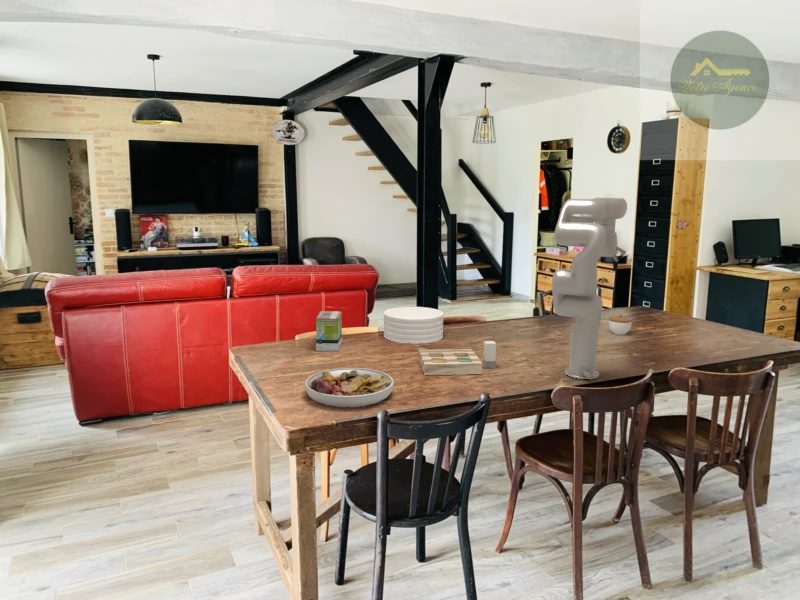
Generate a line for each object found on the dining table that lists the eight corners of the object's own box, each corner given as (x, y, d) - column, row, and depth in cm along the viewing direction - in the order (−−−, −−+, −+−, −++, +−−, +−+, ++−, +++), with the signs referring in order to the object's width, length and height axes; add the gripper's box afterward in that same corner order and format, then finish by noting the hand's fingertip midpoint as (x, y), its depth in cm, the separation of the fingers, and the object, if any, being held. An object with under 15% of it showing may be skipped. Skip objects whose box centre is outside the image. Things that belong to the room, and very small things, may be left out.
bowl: (348, 375, 226) (348, 355, 225) (411, 393, 208) (411, 371, 206) (287, 396, 203) (286, 374, 202) (350, 418, 185) (350, 394, 183)
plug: (495, 368, 235) (496, 343, 234) (485, 368, 235) (486, 343, 233) (492, 365, 239) (493, 341, 237) (483, 365, 239) (483, 341, 237)
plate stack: (453, 334, 288) (454, 311, 286) (423, 347, 265) (423, 322, 263) (404, 326, 303) (404, 304, 301) (371, 338, 280) (371, 314, 278)
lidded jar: (628, 337, 285) (630, 318, 283) (605, 334, 291) (606, 315, 289) (632, 332, 294) (634, 314, 292) (610, 329, 300) (611, 311, 298)
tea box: (339, 351, 257) (338, 317, 254) (315, 351, 257) (315, 317, 254) (342, 342, 272) (341, 310, 269) (320, 342, 272) (319, 310, 269)
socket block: (482, 374, 227) (482, 362, 226) (424, 375, 225) (424, 363, 224) (471, 359, 247) (472, 348, 246) (418, 360, 245) (418, 348, 244)
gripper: (581, 228, 246) (579, 269, 249) (626, 230, 238) (622, 272, 241) (585, 227, 252) (582, 267, 256) (628, 229, 244) (625, 270, 248)
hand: (602, 270), depth 248 cm, fingers open, 9 cm apart
